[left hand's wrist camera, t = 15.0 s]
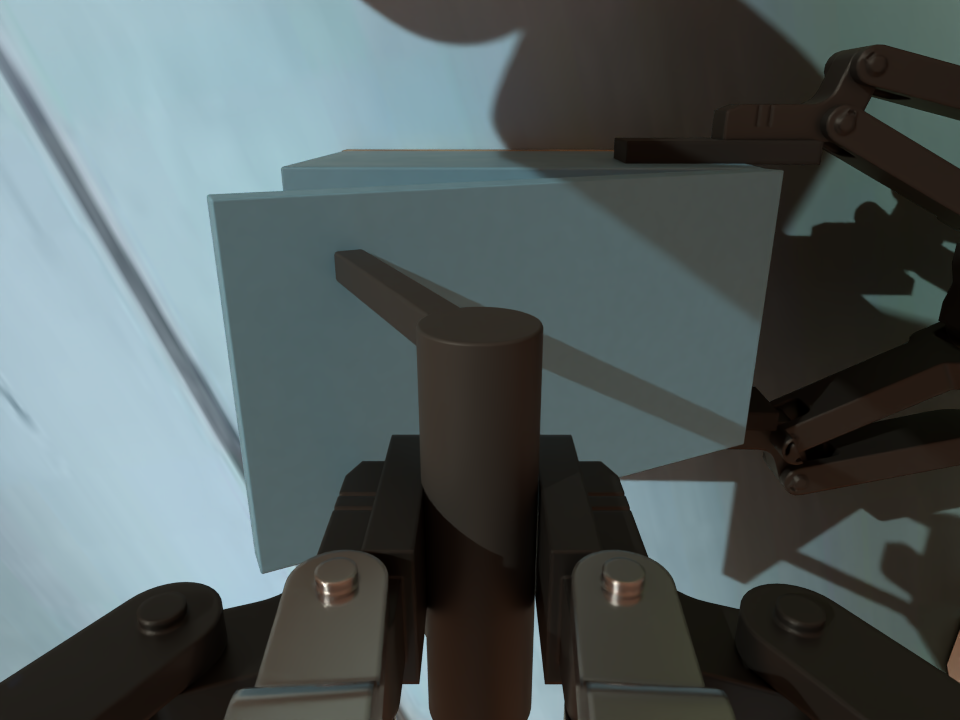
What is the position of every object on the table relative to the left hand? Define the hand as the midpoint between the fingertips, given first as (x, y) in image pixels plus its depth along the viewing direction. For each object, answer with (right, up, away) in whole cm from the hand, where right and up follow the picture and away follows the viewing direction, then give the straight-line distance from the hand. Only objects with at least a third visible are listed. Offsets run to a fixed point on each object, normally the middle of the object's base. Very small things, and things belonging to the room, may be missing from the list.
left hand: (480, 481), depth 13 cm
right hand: (+5, +5, +14) cm, 15 cm away
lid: (+1, +3, +7) cm, 8 cm away
